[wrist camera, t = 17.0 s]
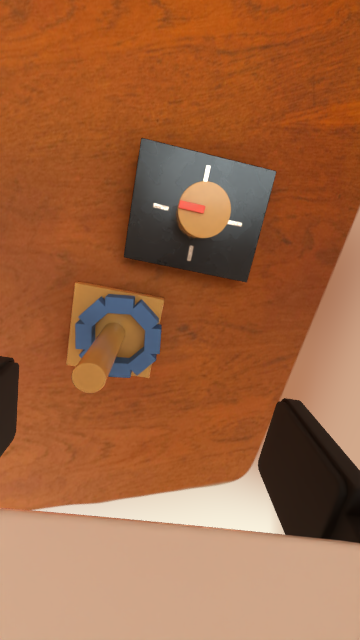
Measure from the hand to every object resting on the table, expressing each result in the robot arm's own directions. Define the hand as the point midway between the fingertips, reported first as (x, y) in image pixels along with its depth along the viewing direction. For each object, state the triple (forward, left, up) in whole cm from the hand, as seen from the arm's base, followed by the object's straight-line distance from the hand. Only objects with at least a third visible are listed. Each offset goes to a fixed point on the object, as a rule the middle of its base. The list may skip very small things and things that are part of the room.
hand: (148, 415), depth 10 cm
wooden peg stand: (+4, +4, -21) cm, 21 cm away
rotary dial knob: (-2, -9, -18) cm, 20 cm away
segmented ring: (+3, +4, -19) cm, 20 cm away
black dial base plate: (-2, -9, -21) cm, 22 cm away
